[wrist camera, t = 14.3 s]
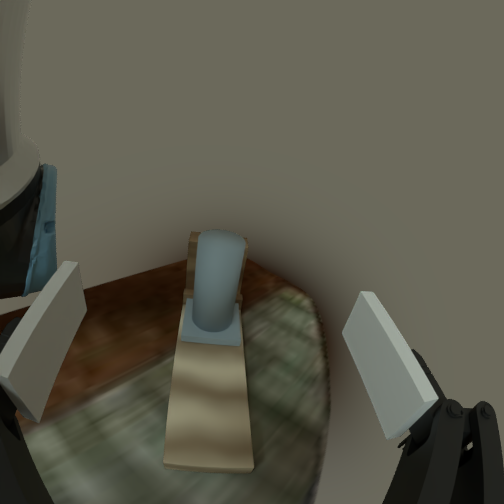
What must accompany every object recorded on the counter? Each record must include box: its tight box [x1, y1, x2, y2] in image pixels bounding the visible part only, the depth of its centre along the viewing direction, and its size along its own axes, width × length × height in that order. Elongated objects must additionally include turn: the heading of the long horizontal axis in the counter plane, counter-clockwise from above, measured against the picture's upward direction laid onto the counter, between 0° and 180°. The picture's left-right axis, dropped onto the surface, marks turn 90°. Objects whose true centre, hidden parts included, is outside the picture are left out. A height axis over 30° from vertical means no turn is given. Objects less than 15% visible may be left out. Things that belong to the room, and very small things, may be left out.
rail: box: [163, 232, 254, 473], centre depth 31 cm, size 29×8×10 cm, turn 5°
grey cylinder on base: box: [181, 230, 246, 346], centre depth 33 cm, size 7×7×12 cm
